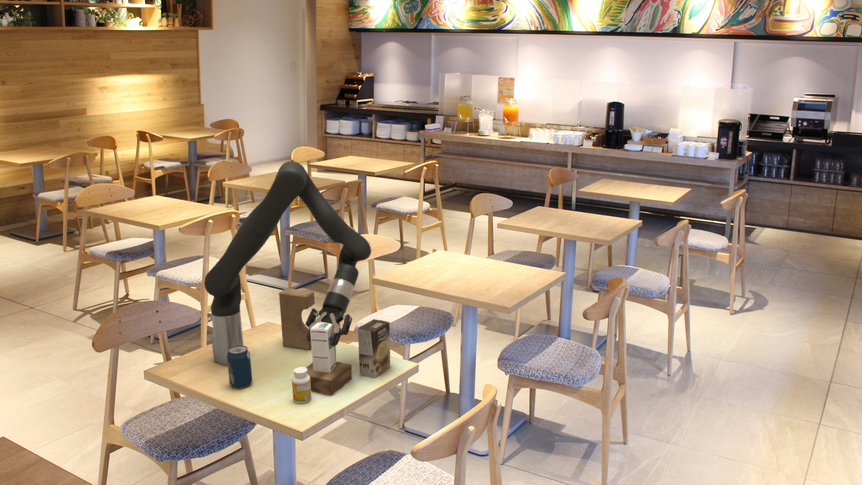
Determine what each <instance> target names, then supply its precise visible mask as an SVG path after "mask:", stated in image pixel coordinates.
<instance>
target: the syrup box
mask: <svg viewBox="0 0 862 485" xmlns="http://www.w3.org/2000/svg"><path fill="white" fill-rule="evenodd" d="M334 333H335V328H334V326H333V324H330V323H325V322H321V321H320V322H318V323H316V324H315V325H314V326H313V327H312V328H311V329H310V334H311V348H312V349H311V358H312V363H313V371H315V372H323V373H331V371H332V370H333V369H334V368H335V366H336V365H337V362H338V361H337V350H336V349H337V348H336V346H335V347H333V346H332V345H331V341H332V338H333V335H334Z"/></svg>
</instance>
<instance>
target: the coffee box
mask: <svg viewBox="0 0 862 485" xmlns="http://www.w3.org/2000/svg"><path fill="white" fill-rule="evenodd" d="M357 327H358V326H357ZM390 328H391V327H390V321H385V320H381V319H375V318H374V319H371V320H369V321H368V322H366V323H364V324H362V325H361V326H359V327H358V328H357V334H358V336H357V337H358V338H357V340H358V365H359V366H358V367H359V371H358V372H359V375H361V376H365V377H368V378H373V379H375V378H377V377H378V376H380V375H381V374H383V373H384V372H386V371H387V370H389V369H390V368H391V335H390V334H391V333H390V332H391V329H390Z"/></svg>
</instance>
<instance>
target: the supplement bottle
mask: <svg viewBox="0 0 862 485" xmlns="http://www.w3.org/2000/svg"><path fill="white" fill-rule="evenodd" d="M291 385H292V398H293V399H292V400H293V401H294V402H295V403H297V404H305V403H308V402H310V401H311V400H312V391H311V382H310V376H309V375H308V371H307V368H306V366H299V367H296V368H294V369H293V376H292V378H291Z"/></svg>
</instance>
